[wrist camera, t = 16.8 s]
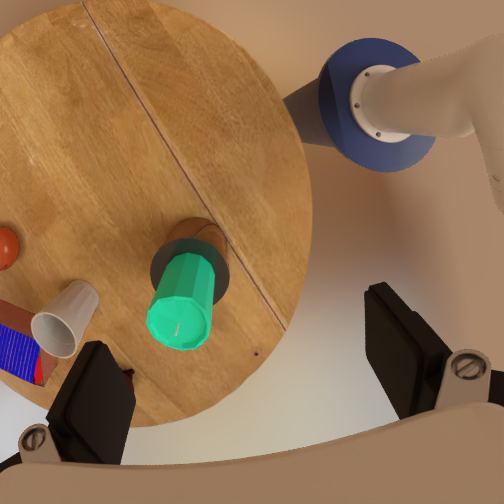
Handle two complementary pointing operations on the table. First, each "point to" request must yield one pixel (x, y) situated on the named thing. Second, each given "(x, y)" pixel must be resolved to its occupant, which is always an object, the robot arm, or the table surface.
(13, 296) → the table surface
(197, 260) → the candle
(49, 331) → the cup
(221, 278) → the jar
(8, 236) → the tomato
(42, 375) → the house
